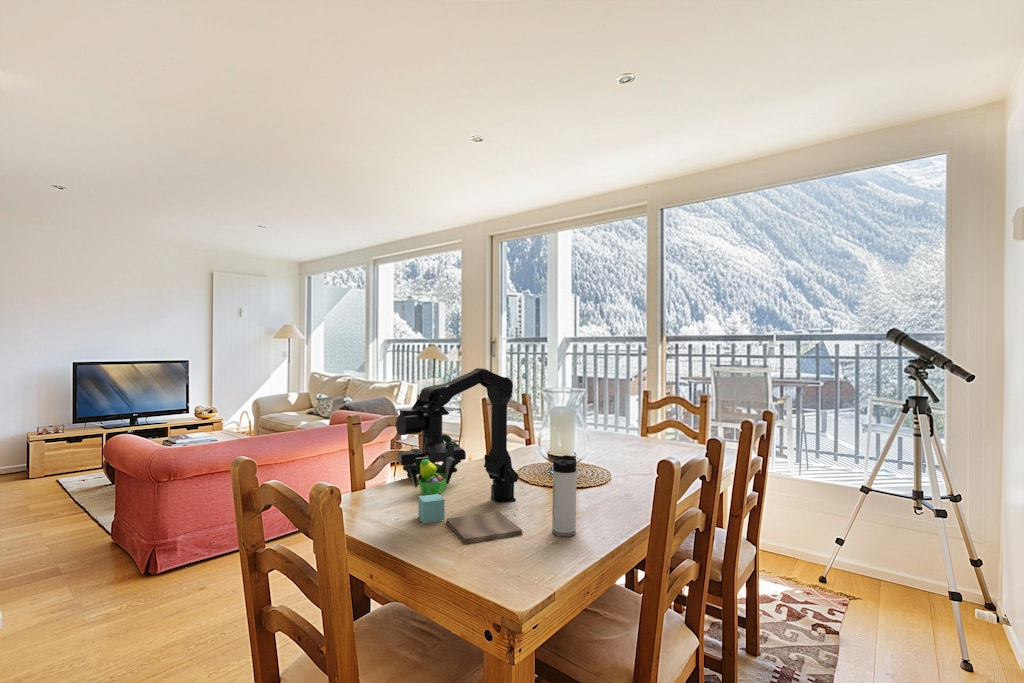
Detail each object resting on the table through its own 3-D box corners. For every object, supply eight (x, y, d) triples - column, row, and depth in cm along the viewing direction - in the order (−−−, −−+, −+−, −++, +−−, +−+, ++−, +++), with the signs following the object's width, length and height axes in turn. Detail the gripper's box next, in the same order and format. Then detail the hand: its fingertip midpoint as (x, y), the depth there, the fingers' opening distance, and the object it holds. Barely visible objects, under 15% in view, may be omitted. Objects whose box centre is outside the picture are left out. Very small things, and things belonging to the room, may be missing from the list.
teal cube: (438, 514, 147) (438, 493, 147) (444, 520, 142) (444, 499, 142) (418, 516, 145) (418, 496, 145) (423, 523, 139) (423, 502, 139)
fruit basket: (439, 498, 162) (440, 463, 162) (413, 497, 163) (414, 462, 163) (450, 488, 173) (450, 456, 173) (425, 487, 174) (426, 454, 174)
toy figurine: (460, 486, 182) (405, 471, 193) (464, 434, 181) (409, 423, 192) (445, 493, 173) (389, 477, 184) (450, 439, 173) (393, 426, 183)
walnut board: (498, 515, 147) (498, 511, 147) (522, 534, 132) (522, 529, 132) (446, 522, 140) (446, 518, 140) (464, 543, 125) (465, 539, 125)
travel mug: (578, 529, 136) (578, 456, 136) (573, 538, 130) (573, 461, 130) (555, 526, 138) (556, 454, 138) (549, 535, 132) (550, 459, 132)
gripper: (405, 438, 132) (405, 497, 132) (472, 433, 140) (471, 489, 140) (397, 431, 142) (397, 486, 142) (459, 427, 150) (459, 479, 150)
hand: (431, 485), depth 143 cm, fingers open, 9 cm apart
